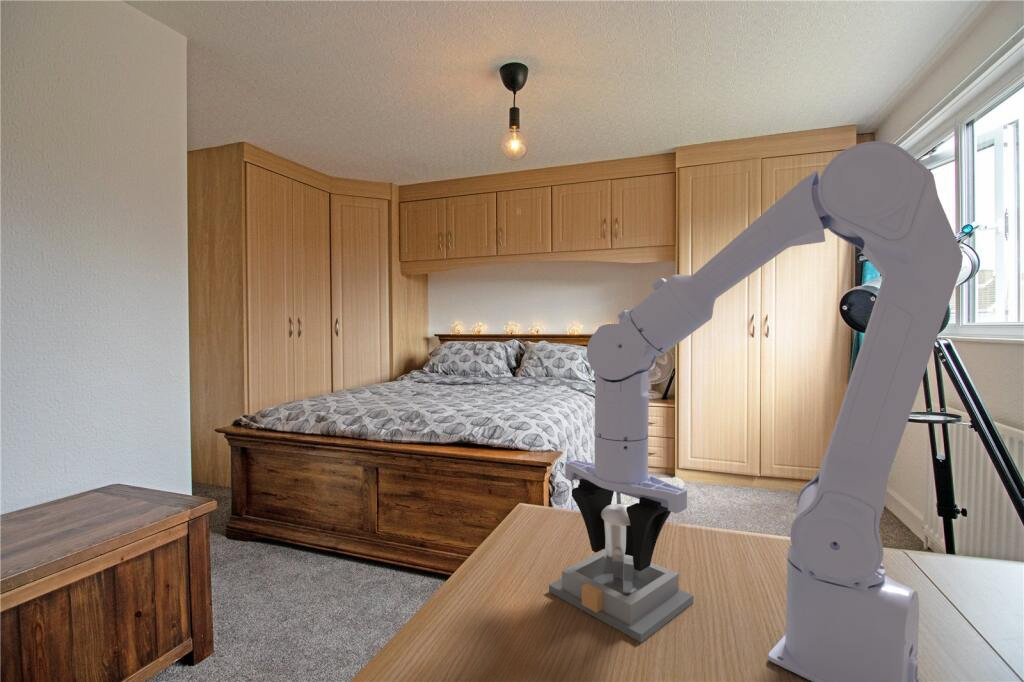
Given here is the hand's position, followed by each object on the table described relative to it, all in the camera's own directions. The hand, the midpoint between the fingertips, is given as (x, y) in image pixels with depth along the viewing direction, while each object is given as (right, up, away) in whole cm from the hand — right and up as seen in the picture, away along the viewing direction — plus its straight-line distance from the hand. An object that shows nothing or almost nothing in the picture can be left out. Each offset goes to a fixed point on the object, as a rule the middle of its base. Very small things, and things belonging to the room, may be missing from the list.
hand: (620, 557), depth 55 cm
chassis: (0, -4, 0) cm, 4 cm away
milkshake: (0, -4, +1) cm, 4 cm away
